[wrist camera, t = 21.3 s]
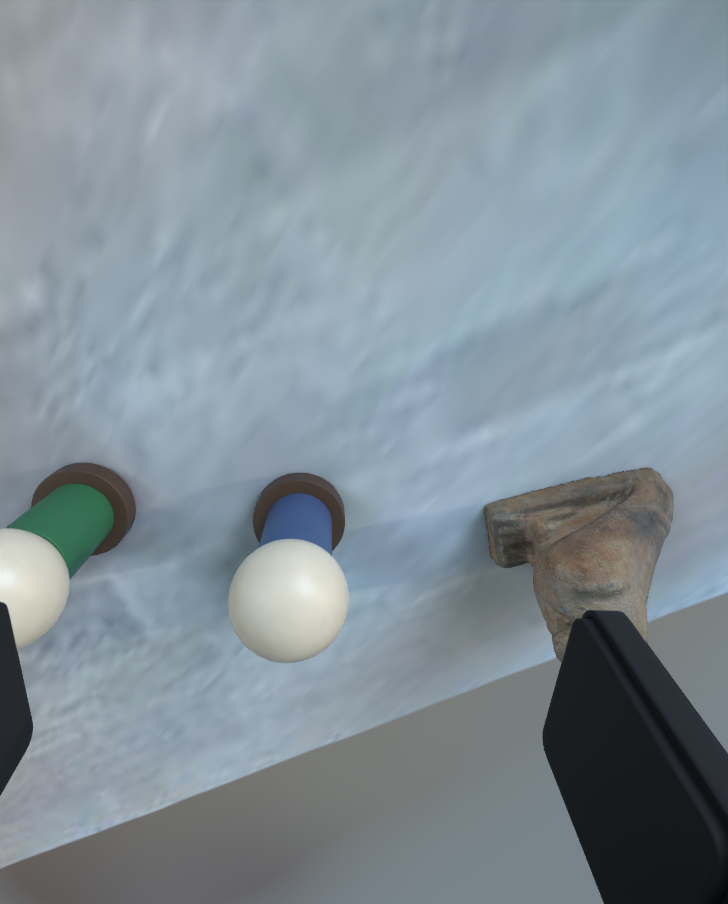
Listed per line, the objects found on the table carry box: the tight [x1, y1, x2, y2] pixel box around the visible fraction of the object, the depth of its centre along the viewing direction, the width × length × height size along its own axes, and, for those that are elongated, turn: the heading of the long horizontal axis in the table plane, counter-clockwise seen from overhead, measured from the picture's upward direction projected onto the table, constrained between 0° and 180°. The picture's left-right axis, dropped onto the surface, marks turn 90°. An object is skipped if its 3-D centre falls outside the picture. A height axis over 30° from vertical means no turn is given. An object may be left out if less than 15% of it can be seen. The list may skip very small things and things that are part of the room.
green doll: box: [0, 463, 136, 651], centre depth 28 cm, size 13×6×6 cm
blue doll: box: [228, 473, 349, 663], centre depth 29 cm, size 13×6×6 cm
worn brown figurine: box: [484, 468, 674, 662], centre depth 30 cm, size 12×6×18 cm, turn 98°
